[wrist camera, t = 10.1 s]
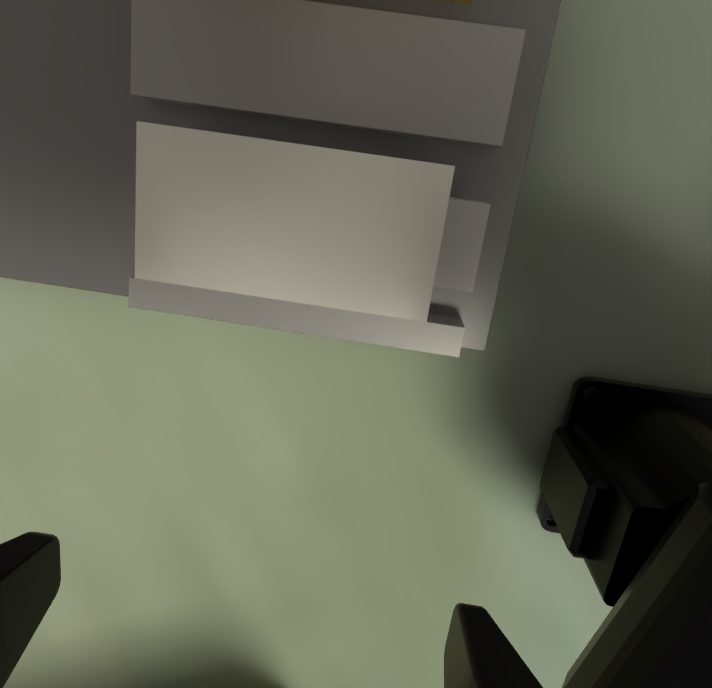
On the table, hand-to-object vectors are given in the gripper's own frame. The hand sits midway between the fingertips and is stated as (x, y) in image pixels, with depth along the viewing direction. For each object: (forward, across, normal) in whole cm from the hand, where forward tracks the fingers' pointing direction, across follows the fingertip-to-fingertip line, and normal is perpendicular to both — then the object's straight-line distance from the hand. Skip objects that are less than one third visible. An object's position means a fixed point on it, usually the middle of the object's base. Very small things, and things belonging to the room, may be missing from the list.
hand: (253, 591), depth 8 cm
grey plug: (+12, +2, -5) cm, 13 cm away
